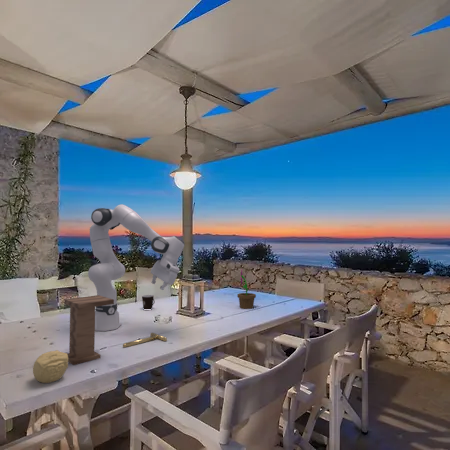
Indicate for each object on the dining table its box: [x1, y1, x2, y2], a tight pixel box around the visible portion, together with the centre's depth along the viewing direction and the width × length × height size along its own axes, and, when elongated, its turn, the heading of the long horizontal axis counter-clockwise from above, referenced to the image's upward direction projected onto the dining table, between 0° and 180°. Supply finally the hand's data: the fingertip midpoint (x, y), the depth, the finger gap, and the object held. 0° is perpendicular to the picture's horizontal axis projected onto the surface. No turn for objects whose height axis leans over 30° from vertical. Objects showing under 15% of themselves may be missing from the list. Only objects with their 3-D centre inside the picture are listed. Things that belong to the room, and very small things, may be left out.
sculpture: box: [32, 349, 69, 384], centre depth 130 cm, size 11×12×11 cm
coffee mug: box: [141, 294, 156, 309], centre depth 252 cm, size 12×9×10 cm
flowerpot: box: [236, 269, 257, 310], centre depth 262 cm, size 14×14×30 cm
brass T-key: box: [122, 332, 168, 348], centre depth 175 cm, size 14×22×2 cm, turn 135°
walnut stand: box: [64, 294, 114, 366], centre depth 155 cm, size 16×17×26 cm
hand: (157, 286), depth 191 cm, fingers open, 8 cm apart
